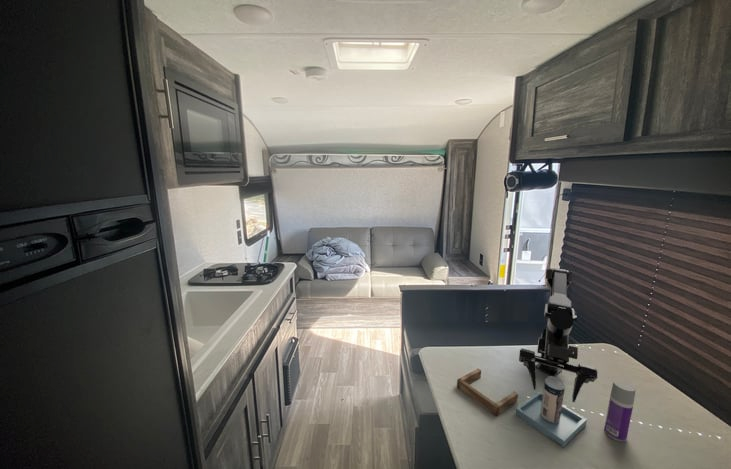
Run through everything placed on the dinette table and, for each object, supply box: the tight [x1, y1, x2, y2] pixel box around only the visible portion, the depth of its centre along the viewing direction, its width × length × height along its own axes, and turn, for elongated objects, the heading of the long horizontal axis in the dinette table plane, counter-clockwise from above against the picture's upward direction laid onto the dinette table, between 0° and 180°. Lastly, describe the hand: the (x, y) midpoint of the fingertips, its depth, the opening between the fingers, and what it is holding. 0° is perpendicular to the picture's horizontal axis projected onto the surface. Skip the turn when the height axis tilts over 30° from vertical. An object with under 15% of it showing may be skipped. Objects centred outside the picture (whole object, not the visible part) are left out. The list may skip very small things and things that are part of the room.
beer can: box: [540, 375, 566, 423], centre depth 83 cm, size 5×5×12 cm
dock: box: [456, 368, 519, 417], centre depth 94 cm, size 11×14×3 cm
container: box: [603, 379, 637, 442], centre depth 78 cm, size 5×5×15 cm
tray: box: [514, 391, 588, 448], centre depth 84 cm, size 13×13×2 cm
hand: (553, 395), depth 82 cm, fingers open, 9 cm apart
